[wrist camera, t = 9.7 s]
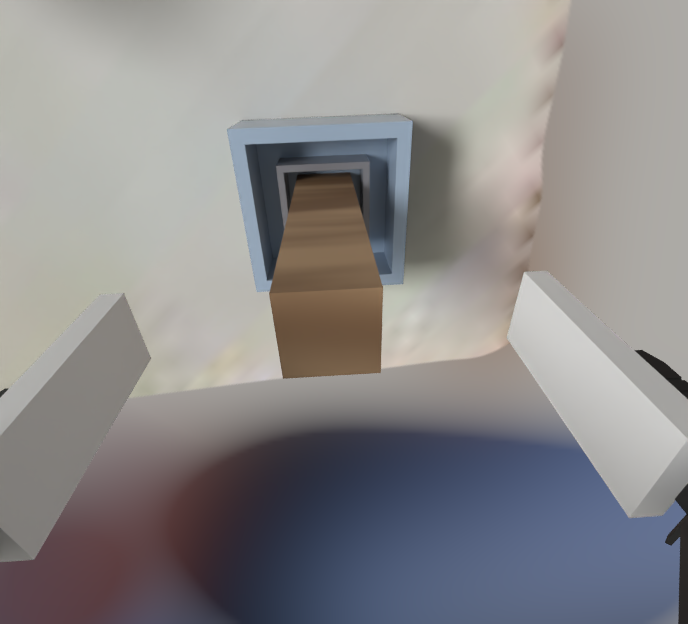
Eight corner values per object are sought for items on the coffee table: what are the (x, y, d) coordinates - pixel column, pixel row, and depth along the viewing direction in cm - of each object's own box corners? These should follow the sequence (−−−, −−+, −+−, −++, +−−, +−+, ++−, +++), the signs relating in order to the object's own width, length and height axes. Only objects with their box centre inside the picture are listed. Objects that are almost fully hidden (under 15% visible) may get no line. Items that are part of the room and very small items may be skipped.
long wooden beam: (297, 174, 25) (269, 293, 11) (349, 172, 25) (382, 287, 12) (302, 225, 27) (283, 378, 13) (351, 222, 27) (380, 372, 13)
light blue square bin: (241, 120, 24) (226, 129, 20) (398, 113, 24) (412, 121, 20) (265, 263, 29) (256, 291, 25) (392, 256, 29) (403, 284, 26)
